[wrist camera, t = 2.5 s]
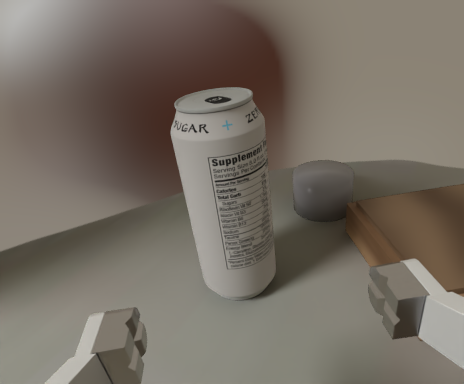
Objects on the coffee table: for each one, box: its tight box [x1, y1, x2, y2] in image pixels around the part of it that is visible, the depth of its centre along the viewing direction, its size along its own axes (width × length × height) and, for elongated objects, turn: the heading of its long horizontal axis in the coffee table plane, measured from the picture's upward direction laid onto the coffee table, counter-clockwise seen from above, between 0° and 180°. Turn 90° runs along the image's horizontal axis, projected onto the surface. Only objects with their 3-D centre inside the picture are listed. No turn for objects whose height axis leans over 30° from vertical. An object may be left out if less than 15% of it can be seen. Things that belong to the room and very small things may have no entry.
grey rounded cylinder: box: [292, 160, 354, 222], centre depth 35 cm, size 6×6×4 cm
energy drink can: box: [171, 88, 276, 300], centre depth 24 cm, size 6×6×15 cm
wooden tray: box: [345, 184, 464, 341], centre depth 25 cm, size 12×12×4 cm
